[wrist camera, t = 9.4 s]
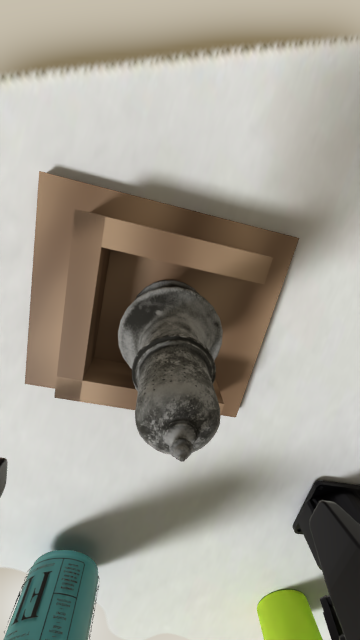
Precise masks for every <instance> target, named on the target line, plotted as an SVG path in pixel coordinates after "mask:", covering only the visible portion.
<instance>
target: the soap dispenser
mask: <svg viewBox="0 0 360 640" xmlns="http://www.w3.org/2000/svg"><path fill="white" fill-rule="evenodd" d="M257 612H258V616H259V621H260V625H261V629H262V633H263V637H264V640H322V637H321V635H320V632H319V630H318V627H317V624H316V622H315V619H314V617H313V614H312V611H311V609H310V606H309V604H308V601H307V599H306V597H305V595H304V594H302V593H301V592H299V591H296V590H280V591H276V592H273V593H271V594H269V595H267V596H265V597H264V598H263V599H262V600H261V601H260V602H259V604H258V606H257Z"/></svg>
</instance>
